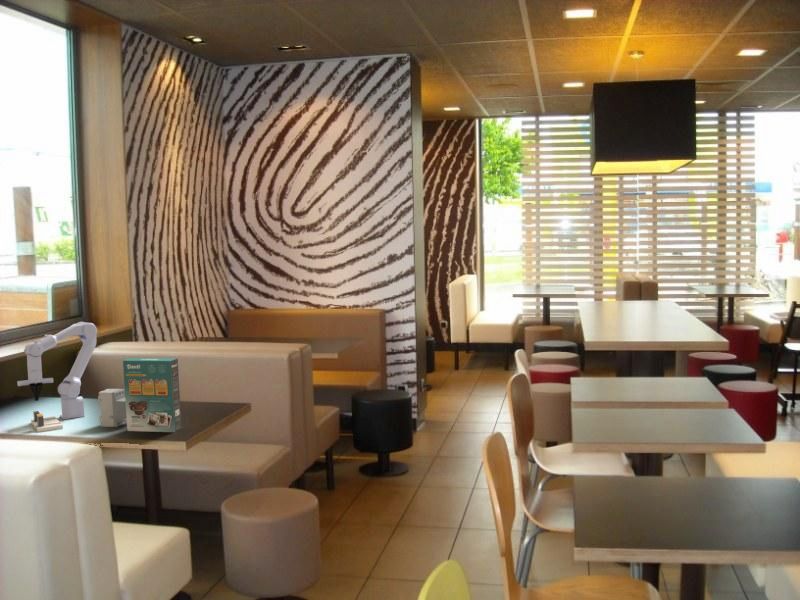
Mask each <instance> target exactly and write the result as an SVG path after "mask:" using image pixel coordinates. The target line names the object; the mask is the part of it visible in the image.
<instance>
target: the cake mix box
mask: <svg viewBox="0 0 800 600" xmlns="http://www.w3.org/2000/svg"><path fill="white" fill-rule="evenodd" d="M178 361H179V359H178V358H172V357H171V358H170V357H169V358H166V357H165V358H163V357H161V358H159V357H158V358H157V357H156V358H154V357H152V358H151V357H150V358H149V357H147V358H146V357H141V358H140V357H138V358H137V357H136V358H134V357H133V358H132V357H129V358H128V359H123V360H122V367H123V382H124V384H123V385H124V393H125V401H126V416H127V418H126V427H127V429H126V430H127V432H149V433H150V432H151V433H152V432H156V433H158V432H159V433H161V432H162V433H176V432H178V431H180V430H181V429H182V413H181V412H182V411H181V410H182V409H181V396H180V394H181V392H180V377H179V375H180V374H179V362H178Z"/></svg>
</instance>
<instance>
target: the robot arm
mask: <svg viewBox="0 0 800 600" xmlns="http://www.w3.org/2000/svg"><path fill="white" fill-rule="evenodd" d="M98 332H99V331H98V328H97V326H96V325H95V324H94V323H92V322H86V321H85V322H84V321H79V322H77V323H72V325H70V326H69V327H66V328H65V329H62V330H61V331H59V332H57V333H56V334H54V335H53V334H44V336H43V337H42V338H39V339H36V340H34V342H29V343H27V344H26V345H25V348H24V349H23V352H24V353H25V355H26V361H27V362H26V364H27V365H26V366H27V380H26V379H25V380H17V382H16V383H17V387H22V386H28V387H29V389H30V391H31V393H32V396H33V399H34V401H36V402H37V401H39V399H40V394H41V391H42V388H43V386H44V384H51V383H52V384H53V383H54V378H53V377H45V378H44V377H43V369H42V368H43V367H42V365H43V364H42V355H43V354H44V353H45V352H46V351H48V350H50V349H53V348H54V347H56V346H57V344H58V342H60V341H62V340H65V339H67V338H69V337H72V336H78V337H79V338H80V340H81V342H82V346H81V348H80V350H79V352H78V354H77V357H76V359H75V361H74V363H73V365H72V367H71V369H70V372H69V373H68V375H67V376H66V377H65V378H63V381H62V382H61V383H60V384H59V385H58V386H57V392H58V394H59V395H60V402H61V403H60V404H61V415H59V417H60V418H61V420H68V419H74V418H75V419H76V418H83V417H85V416H86V415H85V404H84V398H83V396H79V395H80V391H81V385H82V382H81V378H82V377H83V374H84V372H85V370H86V368H87V366H88V364H89V362H90V359H91V357H92V355H93V353H94V351H95V348H96V346H97V333H98Z"/></svg>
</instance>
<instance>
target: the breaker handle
mask: <svg viewBox="0 0 800 600" xmlns="http://www.w3.org/2000/svg"><path fill="white" fill-rule="evenodd" d="M43 418H44V414H43V413H40V414H37V424H38V426H44V420H43Z"/></svg>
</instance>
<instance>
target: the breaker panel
mask: <svg viewBox="0 0 800 600" xmlns="http://www.w3.org/2000/svg"><path fill="white" fill-rule="evenodd" d="M32 413H33V419H31V420H30V423H31V425H32V426H33V428H34V429H35V430H36V431H37V433H42V432H48V431H55V430H63V427H64V426H63V424H62V423H61V421H60V420H58V418H57V417H56V416H49V417H43V420H44V426H38V424H37V414H41V413H40V411H38V410H37V411H36V410H34V411H32Z"/></svg>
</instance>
